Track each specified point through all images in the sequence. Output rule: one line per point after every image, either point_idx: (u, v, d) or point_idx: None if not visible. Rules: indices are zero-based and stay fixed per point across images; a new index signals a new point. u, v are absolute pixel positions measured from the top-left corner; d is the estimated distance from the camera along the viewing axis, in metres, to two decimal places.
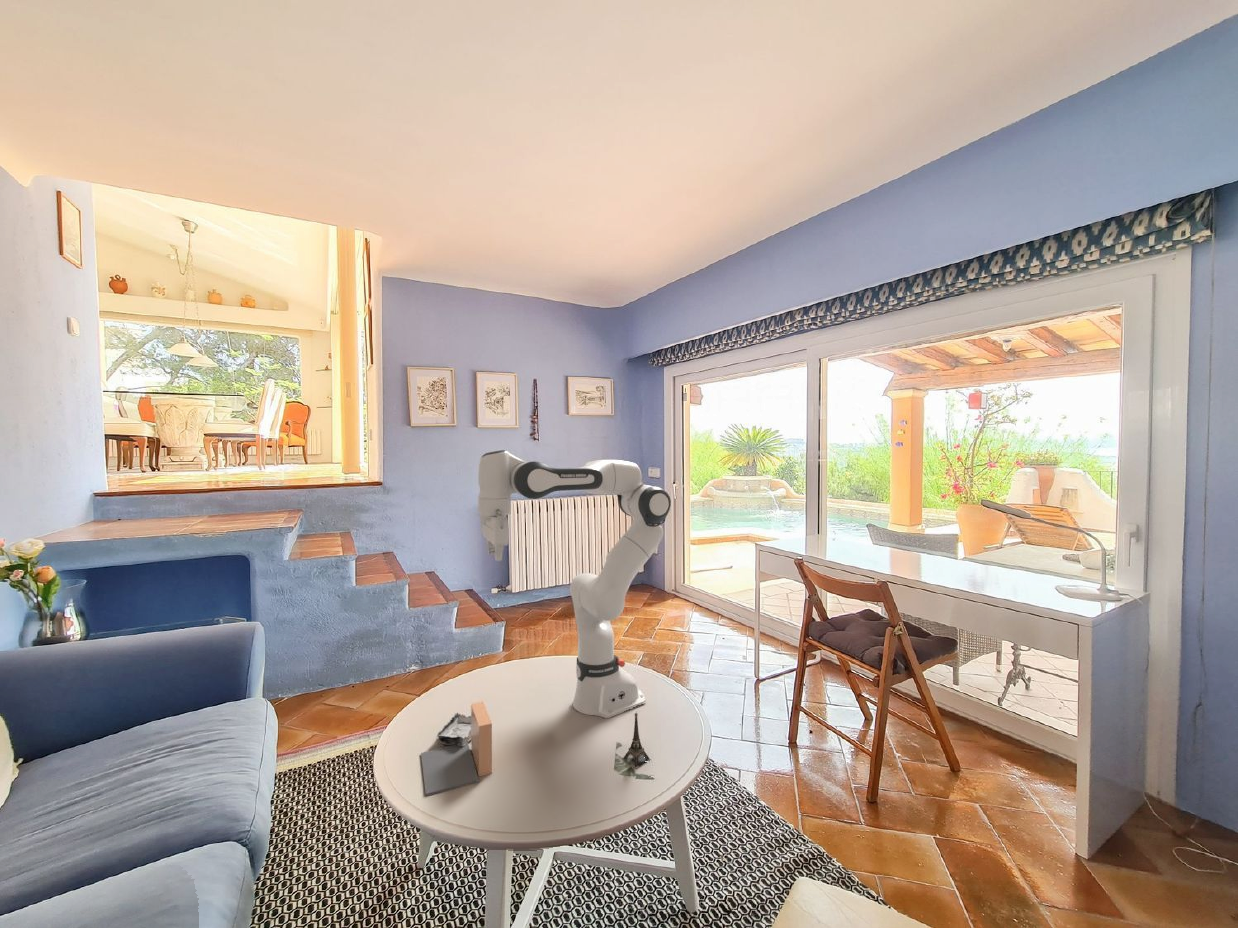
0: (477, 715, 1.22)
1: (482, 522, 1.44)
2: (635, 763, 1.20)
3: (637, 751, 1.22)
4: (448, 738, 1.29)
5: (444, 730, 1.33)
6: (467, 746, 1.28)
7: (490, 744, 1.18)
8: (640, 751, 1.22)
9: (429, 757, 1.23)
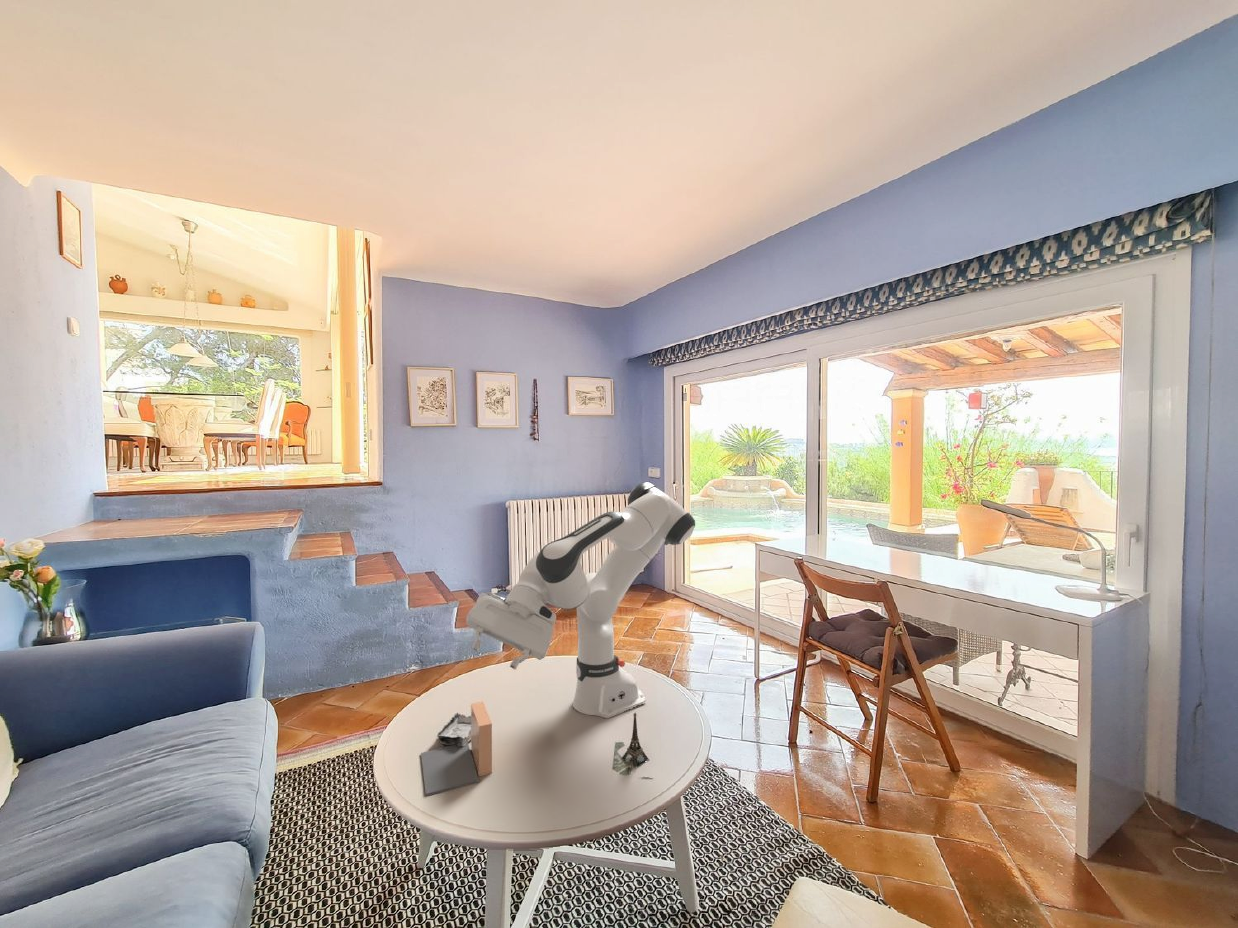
0: (477, 715, 1.22)
1: None
2: (634, 762, 1.21)
3: (636, 751, 1.22)
4: (448, 738, 1.29)
5: (444, 730, 1.33)
6: (467, 746, 1.28)
7: (490, 744, 1.18)
8: (639, 751, 1.22)
9: (429, 757, 1.23)
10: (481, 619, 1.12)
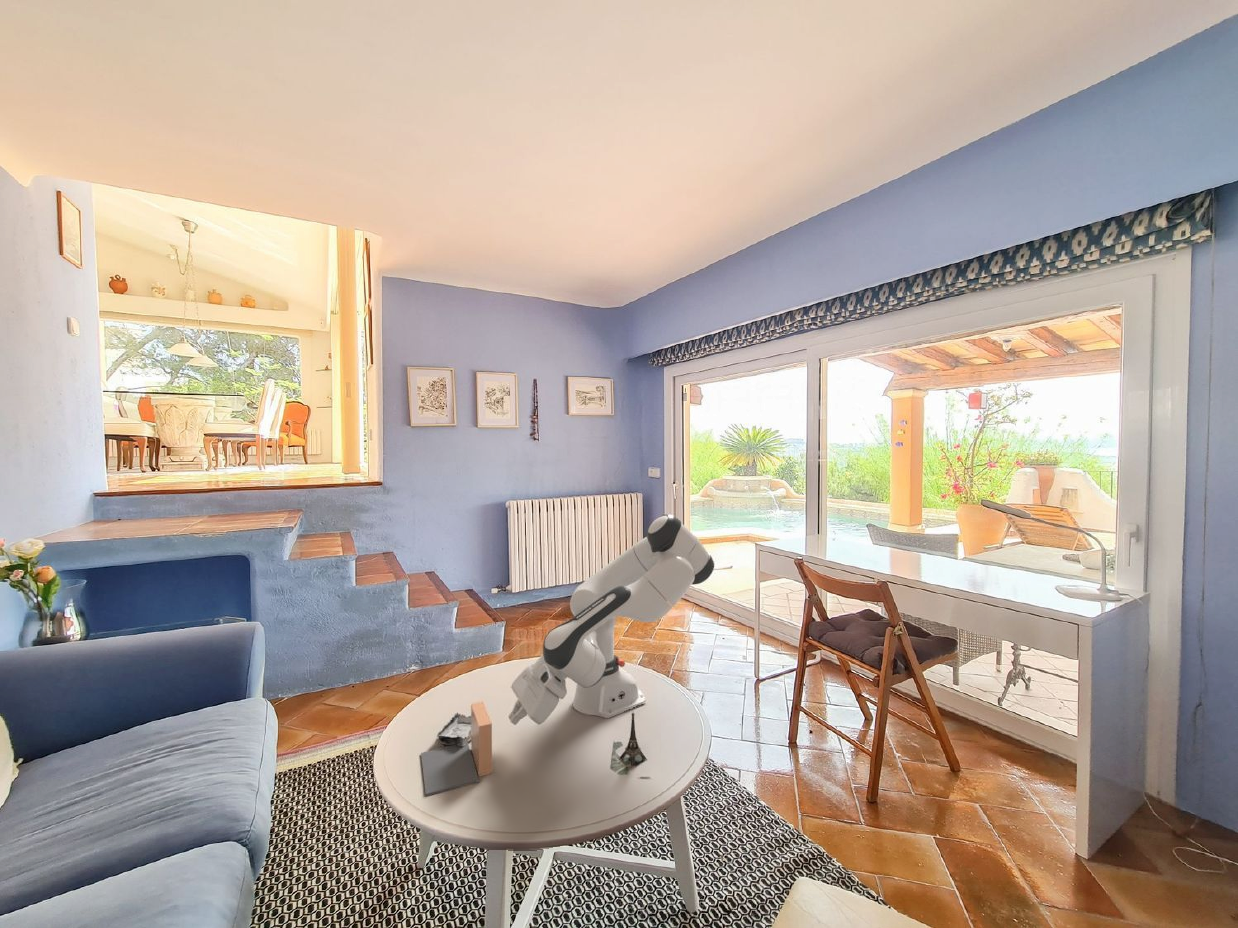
0: (477, 715, 1.22)
1: None
2: (632, 762, 1.21)
3: (634, 751, 1.22)
4: (448, 738, 1.29)
5: (444, 730, 1.33)
6: (467, 746, 1.28)
7: (490, 744, 1.18)
8: (637, 751, 1.23)
9: (429, 757, 1.23)
10: (515, 686, 1.32)
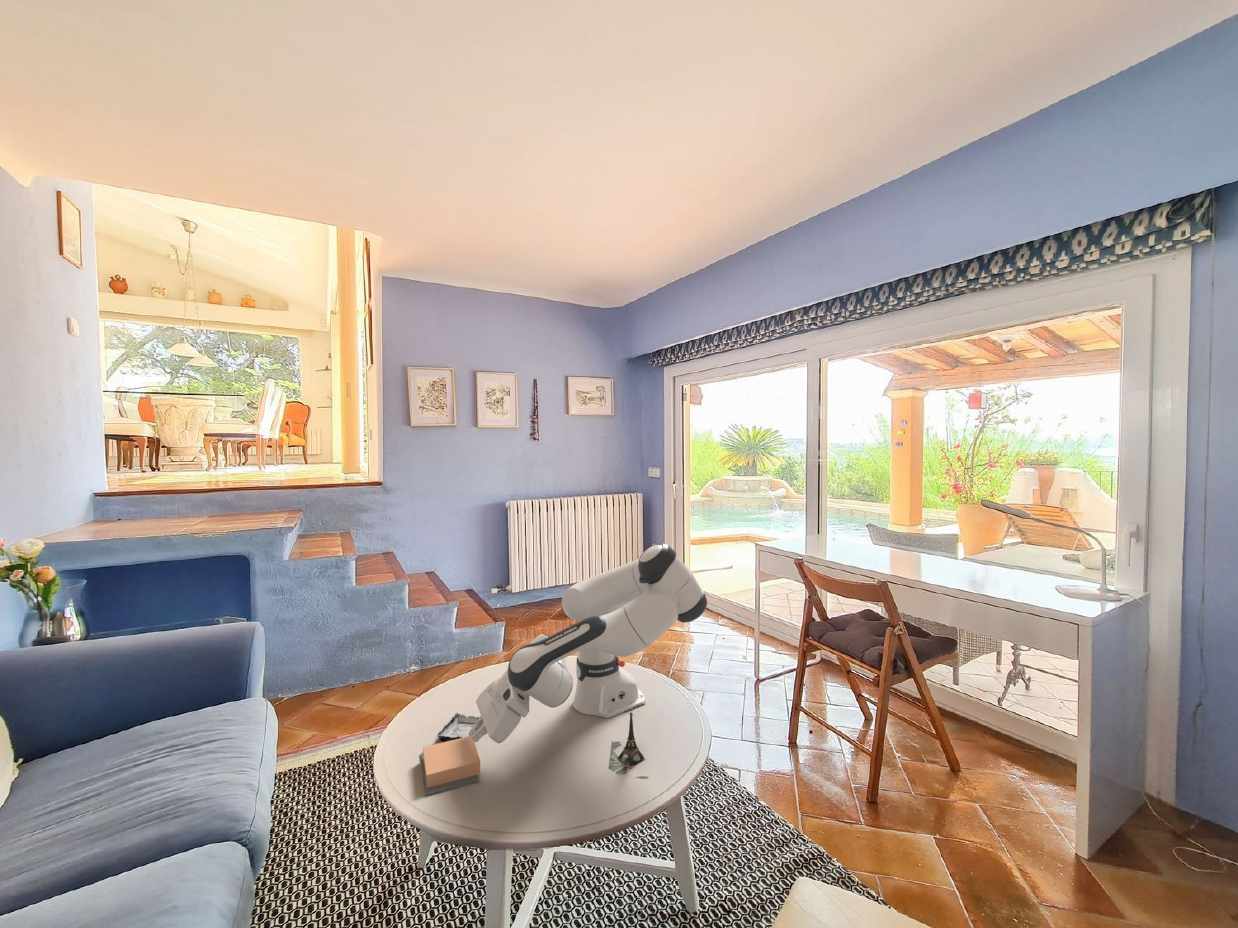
0: None
1: None
2: (630, 762, 1.21)
3: (632, 750, 1.22)
4: (448, 738, 1.29)
5: (444, 730, 1.33)
6: None
7: (449, 770, 1.14)
8: (635, 750, 1.23)
9: None
10: (480, 701, 1.29)
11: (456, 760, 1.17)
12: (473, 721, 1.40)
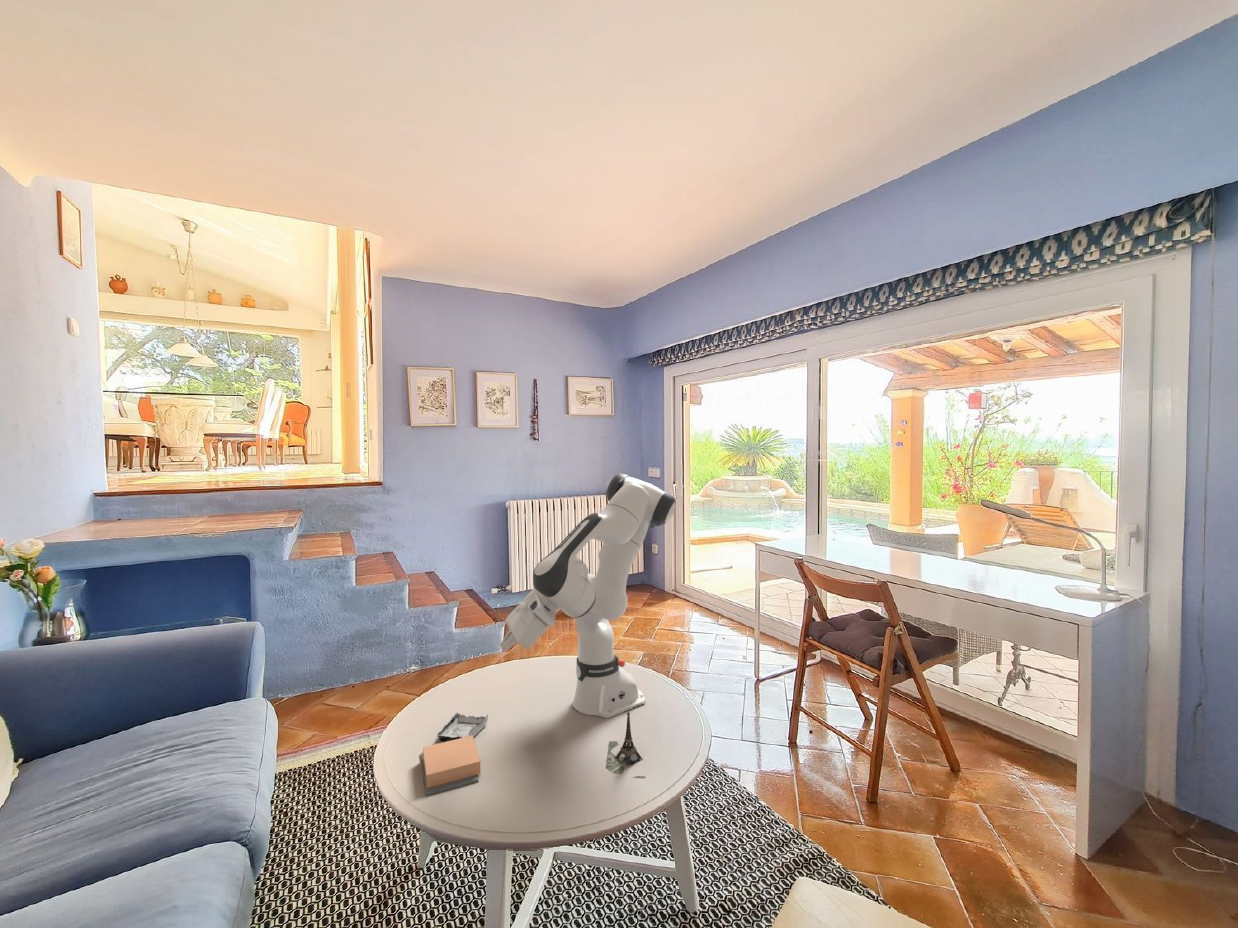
0: None
1: None
2: (627, 762, 1.21)
3: (629, 750, 1.22)
4: (448, 738, 1.29)
5: (444, 730, 1.33)
6: None
7: (449, 770, 1.14)
8: (632, 750, 1.23)
9: None
10: (509, 619, 1.35)
11: (456, 760, 1.17)
12: (473, 721, 1.40)
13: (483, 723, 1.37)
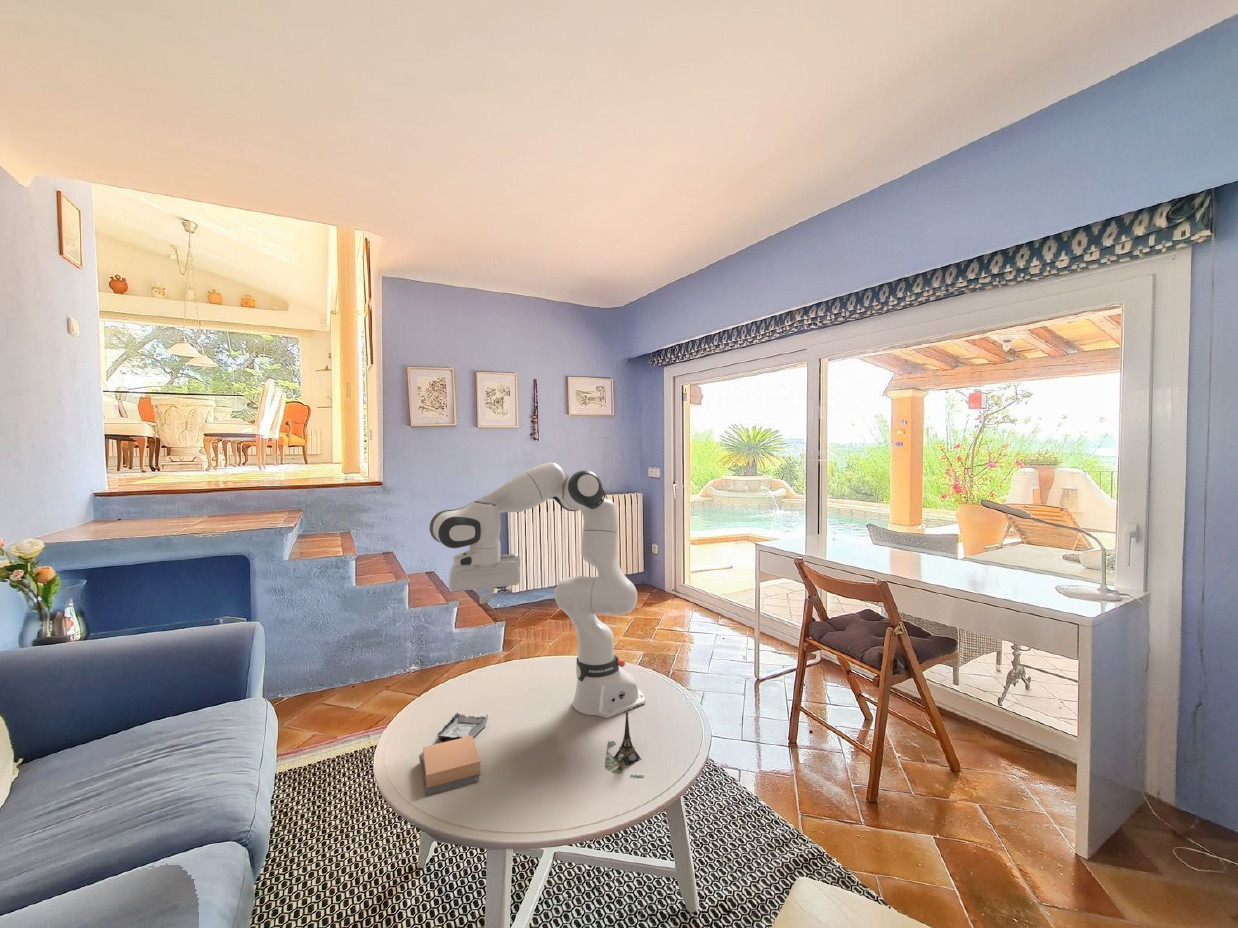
0: None
1: (457, 576, 1.39)
2: (626, 761, 1.21)
3: (628, 750, 1.22)
4: (448, 738, 1.29)
5: (444, 730, 1.33)
6: None
7: (449, 770, 1.14)
8: (631, 750, 1.23)
9: None
10: None
11: (456, 760, 1.17)
12: (473, 721, 1.40)
13: (483, 723, 1.37)
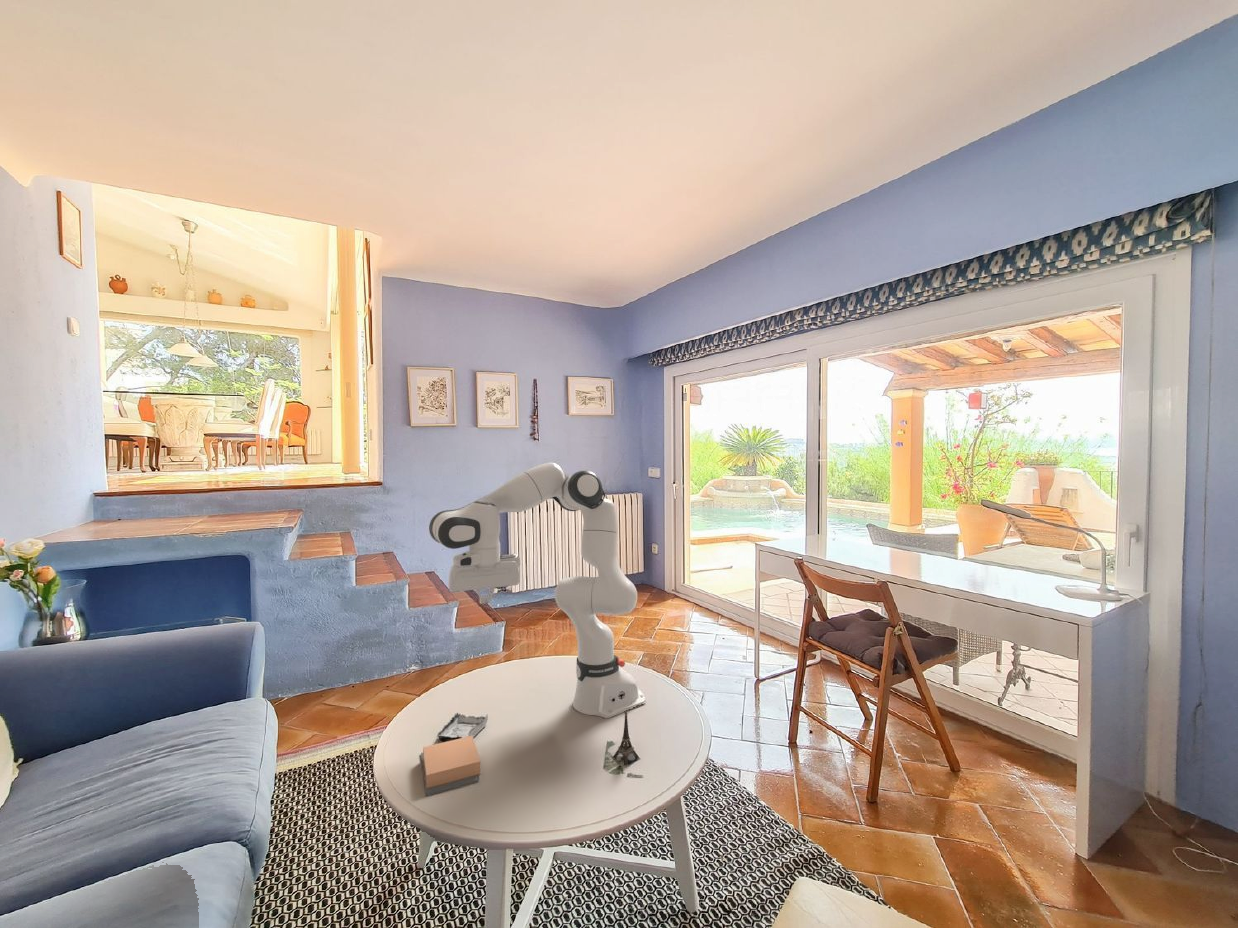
0: None
1: (457, 576, 1.39)
2: (625, 761, 1.21)
3: (627, 750, 1.22)
4: (448, 738, 1.29)
5: (444, 730, 1.33)
6: None
7: (449, 770, 1.14)
8: (630, 750, 1.23)
9: None
10: None
11: (456, 760, 1.17)
12: (473, 721, 1.40)
13: (483, 723, 1.37)
